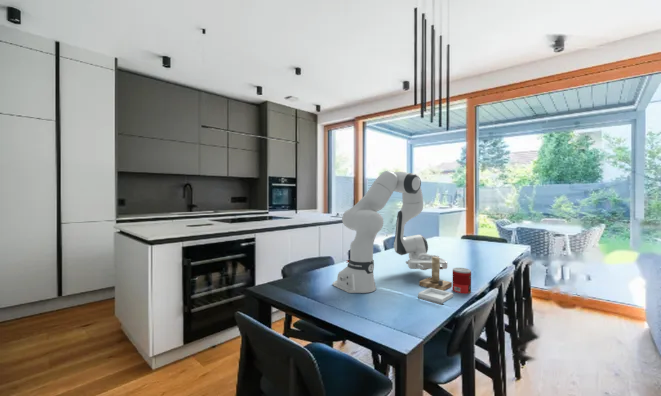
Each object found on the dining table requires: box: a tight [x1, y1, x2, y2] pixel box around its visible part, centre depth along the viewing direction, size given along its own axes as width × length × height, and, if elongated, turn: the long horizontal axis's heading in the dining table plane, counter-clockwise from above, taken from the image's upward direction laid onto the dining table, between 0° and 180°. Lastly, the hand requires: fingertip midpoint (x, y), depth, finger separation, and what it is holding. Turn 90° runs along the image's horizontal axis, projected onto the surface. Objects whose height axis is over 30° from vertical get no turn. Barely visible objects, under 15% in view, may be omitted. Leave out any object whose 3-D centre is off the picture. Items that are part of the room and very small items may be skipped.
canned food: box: [452, 267, 472, 295], centre depth 140 cm, size 8×8×11 cm
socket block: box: [418, 277, 453, 291], centre depth 148 cm, size 12×10×5 cm
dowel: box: [431, 256, 441, 284], centre depth 147 cm, size 4×4×14 cm
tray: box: [417, 287, 454, 306], centre depth 133 cm, size 11×11×2 cm
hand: (432, 267), depth 151 cm, fingers open, 8 cm apart
